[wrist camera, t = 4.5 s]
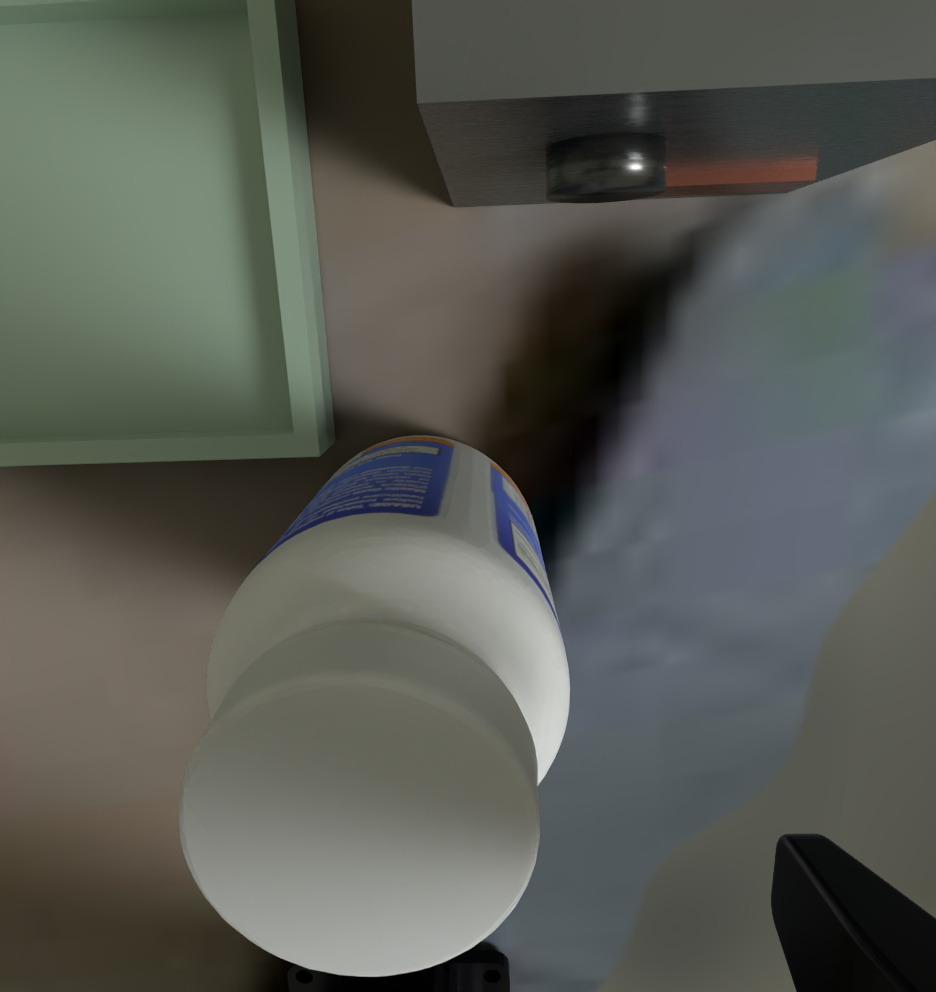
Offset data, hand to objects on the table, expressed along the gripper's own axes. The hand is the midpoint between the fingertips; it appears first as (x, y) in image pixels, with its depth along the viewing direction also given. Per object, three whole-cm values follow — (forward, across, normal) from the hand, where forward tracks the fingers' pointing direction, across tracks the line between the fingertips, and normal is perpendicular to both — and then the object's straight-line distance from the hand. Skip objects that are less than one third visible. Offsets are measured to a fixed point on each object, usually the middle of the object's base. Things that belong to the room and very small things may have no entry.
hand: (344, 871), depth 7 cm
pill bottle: (+10, 0, 0) cm, 10 cm away
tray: (+10, +6, -7) cm, 14 cm away
